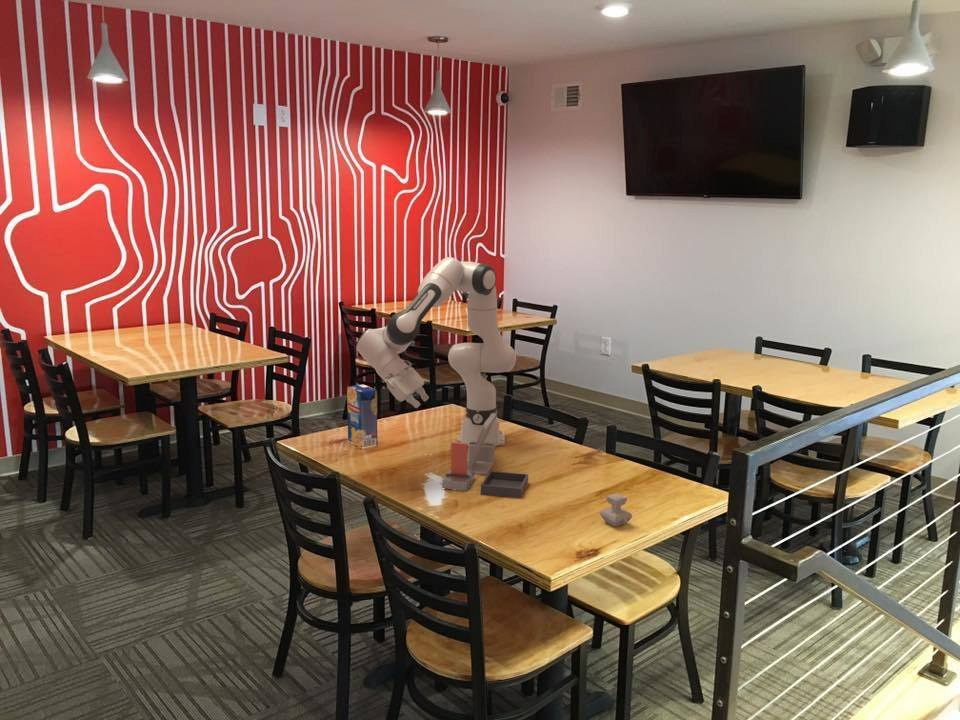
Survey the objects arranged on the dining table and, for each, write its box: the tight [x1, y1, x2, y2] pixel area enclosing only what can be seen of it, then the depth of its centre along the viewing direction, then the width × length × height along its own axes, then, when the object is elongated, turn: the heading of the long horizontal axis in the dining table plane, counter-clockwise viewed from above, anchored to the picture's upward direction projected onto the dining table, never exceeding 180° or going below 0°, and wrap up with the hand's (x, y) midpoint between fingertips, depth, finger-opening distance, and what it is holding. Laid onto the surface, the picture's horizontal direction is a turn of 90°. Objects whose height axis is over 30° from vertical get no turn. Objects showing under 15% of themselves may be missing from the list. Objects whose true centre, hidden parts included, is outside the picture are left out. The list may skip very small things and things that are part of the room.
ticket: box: [450, 441, 468, 475], centre depth 254 cm, size 1×5×14 cm, turn 77°
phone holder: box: [467, 413, 498, 476], centre depth 271 cm, size 17×10×18 cm, turn 168°
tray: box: [480, 470, 529, 499], centre depth 251 cm, size 14×13×3 cm
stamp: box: [599, 493, 633, 527], centre depth 224 cm, size 9×7×8 cm
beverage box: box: [346, 383, 378, 448], centre depth 293 cm, size 7×11×22 cm, turn 36°
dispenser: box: [441, 469, 476, 492], centre depth 255 cm, size 12×8×4 cm, turn 167°
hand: (422, 403), depth 252 cm, fingers open, 8 cm apart
